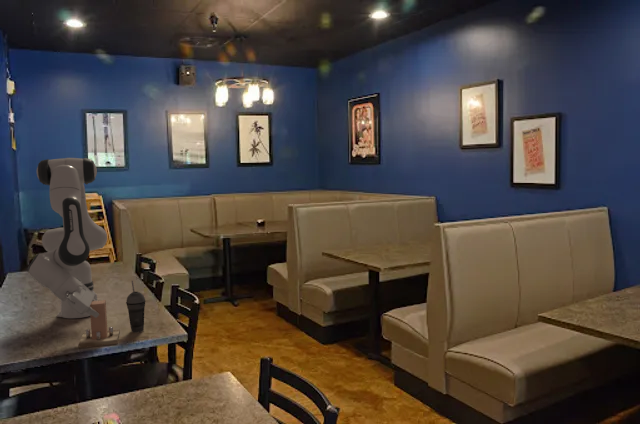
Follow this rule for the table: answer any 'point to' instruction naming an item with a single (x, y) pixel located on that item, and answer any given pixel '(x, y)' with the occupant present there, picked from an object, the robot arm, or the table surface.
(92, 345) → the pin plate
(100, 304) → the terracotta post
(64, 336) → the table surface
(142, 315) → the beverage cup
